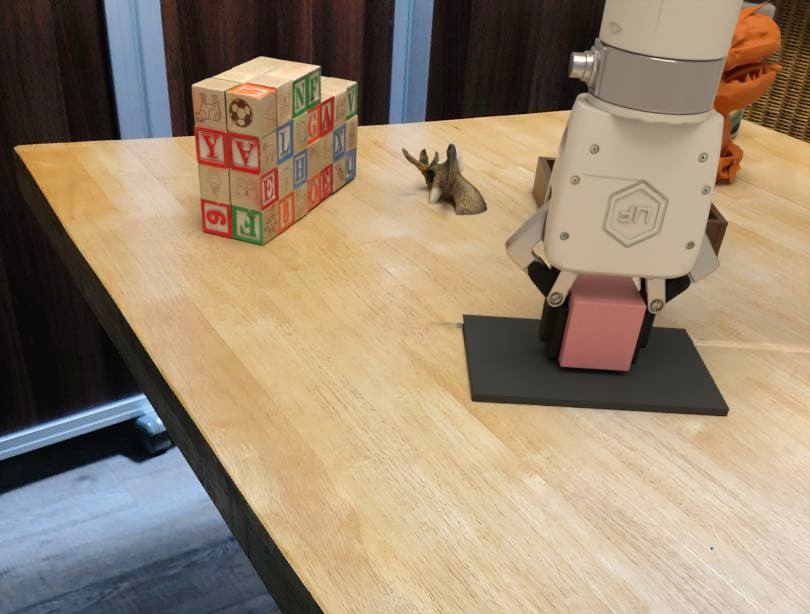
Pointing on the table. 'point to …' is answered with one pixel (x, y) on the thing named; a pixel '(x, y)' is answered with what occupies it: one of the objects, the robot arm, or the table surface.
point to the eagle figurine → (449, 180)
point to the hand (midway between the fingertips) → (589, 350)
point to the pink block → (602, 323)
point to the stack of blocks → (271, 145)
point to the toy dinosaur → (745, 78)
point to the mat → (586, 372)
